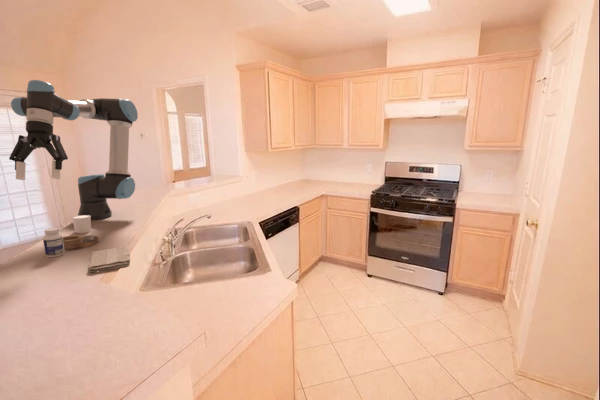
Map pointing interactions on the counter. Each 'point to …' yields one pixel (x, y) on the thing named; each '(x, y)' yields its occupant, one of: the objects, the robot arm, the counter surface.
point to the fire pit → (79, 241)
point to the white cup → (82, 223)
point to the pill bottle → (53, 243)
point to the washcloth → (109, 259)
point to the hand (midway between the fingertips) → (38, 179)
